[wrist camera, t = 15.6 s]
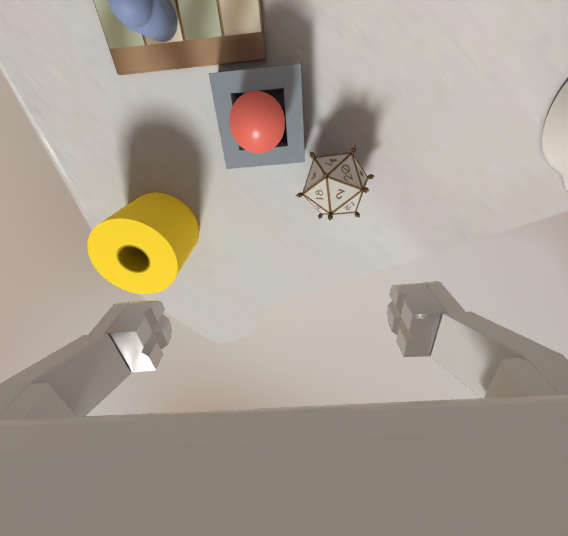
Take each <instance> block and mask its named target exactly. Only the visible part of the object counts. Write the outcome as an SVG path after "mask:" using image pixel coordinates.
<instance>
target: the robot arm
mask: <svg viewBox="0 0 568 536" xmlns="http://www.w3.org/2000/svg"><path fill="white" fill-rule="evenodd" d="M542 145H543V151H544V155H545V157H546V159H547V161H548V162H549V164H550V165H551V166H552V167H553V168H555V169H556V170H557V171H558V172H560V173H561V175H562V177H563V181H564V185H565V188H566V189H567V190H568V81H567V82H566V83H565V85H564V86H563V88H562V89H561V91H560V92H559V94H558V95H557V97H556V99H555V100H554V102H553V104H552V106H551V108H550V110H549V113H548V115H547V118H546V121H545V125H544V129H543V136H542ZM390 297H391V299H392V302H391V303H390V304H389V305H388V310H387V315H388V322H389V326H390V328H391V331H392V332H394V333H395V334H396V335H397V344H398V346H399V348H400V350H401V352H402V354H403V357H415V356H416V357H417V356H431V358H432V359H433V360H434V361H435V362H437V363H438V364H439V365H440V366H442V367H443V368H444V369H445V370H447V371H448V372H449V373H450V374H452V375H453V376H454V377H455V378H457V379H458V380H459V381H460V382H461V383H463V384H464V385H465V386H466V387H468V388H469V389H470V390H471V391H472V392H474V393H475V394H476V395H477V396H479V397H480V399H457V400H436V401H435V400H434V401H413V402H391V403H370V404H347V405H325V406H303V407H283V408H282V407H281V408H262V409H261V408H259V409H237V410H215V411H195V412H172V413H151V414H128V415H107V416H86V415H87V414H88V413H89V412H90V411H91V410H92V409H93V408H95V407H96V406H97V405H98V404H99V403H100V402H101V401H102V400H103V399H104V398H105V397H106V396H107V395H108V394H110V393H111V392H112V391H113V390H114V389H115V388H116V387H117V386H118V385H119V384H120V383H121V382H122V381H124V380H125V379H126V378H127V377H128V376H129V375H130V374H131V372H140V371H150V370H151V371H152V370H156V368H157V366H158V364H159V362H160V359H161V357H162V356H163V354H162V351H161V349H163V348H164V347H165V346H166V345H168V343H169V340H170V338H171V331H172V329H171V323H170V321H169V319H168V318H167V317H166V316H164V315H163V313H164V310H165V309H164V306H163V304H162V302H160V301H138V302H122V303H121V302H120V303H116V304H114V305H113V306H112V307H111V308H110V310H109V311H108V312H107V313H106V314H105V315H104V317H103V318H102V319H101V320H100V322H99V323H98V324H97V325H96V326H95V327H94V329H93V330H92V331H91V332H90V333H89V334H88V335H83V336H82V337H80V338H78V339H77V340H75V341H73V342H71V343H69V344H68V345H66V346H64V347H63V348H61V349H59V350H58V351H56V352H54V353H52V354H50V355H49V356H47V357H45V358H44V359H42V360H40V361H39V362H37V363H35V364H33V365H31V366H30V367H28V368H26V369H25V370H23V371H21V372H20V373H18V374H16V375H14V376H13V377H11V378H9V379H7V380H6V381H4V382H2V383H1V384H0V536H568V360H567V359H566V358H565V357H564V356H563V355H562V354H560V353H557V352H555V351H553V350H551V349H549V348H547V347H545V346H542V345H541V344H538V343H536V342H534V341H532V340H530V339H528V338H526V337H524V336H521V335H519V334H517V333H515V332H513V331H511V330H509V329H507V328H504V327H502V326H500V325H498V324H496V323H494V322H492V321H489V320H487V319H485V318H483V317H481V316H479V315H477V314H475V313H473V312H465V310H464V309H463V308H462V307H461V306H460V305H459V304H458V302H457V301H456V300H455V299H454V298H453V296H452V295H451V294H450V293H449V292H448V291H447V289H446V288H445V287H444V286H443V285H442V283H440V282H438V281H435V282H424V283H417V284H403V285H392V287H391V289H390Z"/></svg>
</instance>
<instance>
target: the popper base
mask: <svg viewBox="0 0 568 536" xmlns="http://www.w3.org/2000/svg"><path fill="white" fill-rule="evenodd" d="M209 78H210V83H211V88H212V94H213V99H214V104H215V110H216V115H217V120H218V126H219V131H220V136H221V142H222V147H223V152H224V158H225V163H226V168H227V169H231V168H242V167H254V166H265V165H276V164H288V163H299V162H305V152H304V128H303V104H302V81H301V64H293V65H283V66H274V67H264V68H255V69H245V70H236V71H226V72H217V73H209ZM279 89H284V99H285V113H286V127H287V141H286V142H279V143H278V145H277V146H276V147H275V148H273V149H272V150H270V151H268V152H265V153H258V154H257V153H252V152H249V151H247V150H245V149H243V148H242V147H241V146H240V145H239V144H238V143H237V142H236V141H235V139H234V137H233V135H232V133H231V129H230V124H229V117H230V112H231V109H232V106H233V104H234V103H235V101H236V100H237V94H239V93H247V92H250V91H269V90H279Z"/></svg>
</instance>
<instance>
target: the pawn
mask: <svg viewBox="0 0 568 536" xmlns="http://www.w3.org/2000/svg"><path fill="white" fill-rule="evenodd" d="M107 1H108V4H109V7H110V9H111V10H112V12H113V13H114V15H115V16H116V17H117V18H118V19H119V20H120V21H121V22H122V23H123V24H124V25H125V26H126V27H127V28H129V29H130V30H132V31H134V32H137V33H139V34H142V35H144V36H147V37H149V38H152V39H154V40H157V41H160V42H166V41H169V40H171V39H172V38H173V37H174V35H175V33H176V31H177V15H176V12H175V9H174V7H173V6H172V4H171V3H170V1H169V0H107Z"/></svg>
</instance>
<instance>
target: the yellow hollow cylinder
mask: <svg viewBox="0 0 568 536" xmlns="http://www.w3.org/2000/svg"><path fill="white" fill-rule="evenodd" d="M198 238H199V226H198V222H197V220H196V217H195V216H194V214H193V212H192V211H191V210H190V209H189V207H188V206H187V205H186V204H184V203H183V202H182V201H180V200H179V199H177V198H175V197H173V196H171V195H168V194H165V193H157V192H154V193H147V194H144V195H142V196H140V197H138V198H137V199H135V200H134V201H132V202H131V203H129V204H128V205H127V206H125V207H124V208H122V209H121V210H119V211H118V212H116V213H115V214H113V215H112V216H110V217H109V218H107V219H106V220H104V221H103V222H101V223H100V224H98V225H97V226H96V227H95V228H94V229H93V230H92V232H91V233H90V235H89V238H88V245H87V247H88V253H89V256H90V259H91V261H92V263H93V265H94V267H95V268H96V269H97V271H98V272H99V273H100V274H101V275H102V276H103V277H104V278H105V279H106V280H108V281H109V282H110V283H112V284H114V285H115V286H117V287H119V288H121V289H124V290H126V291H129V292H133V293H139V294H151V293H156V292H160V291H162V290H164V289H166V288H167V287H168V286H170V285H171V284H172V282H173V281H174V279H175V278H176V276H177V274H178V273H179V271H180V270H181V268H182V266H183V265H184V263H185V261H186V260H187V258H188V256H189V255H190V253H191V252H192V250H193V248H194V247H195V245H196V243H197V241H198Z"/></svg>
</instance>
